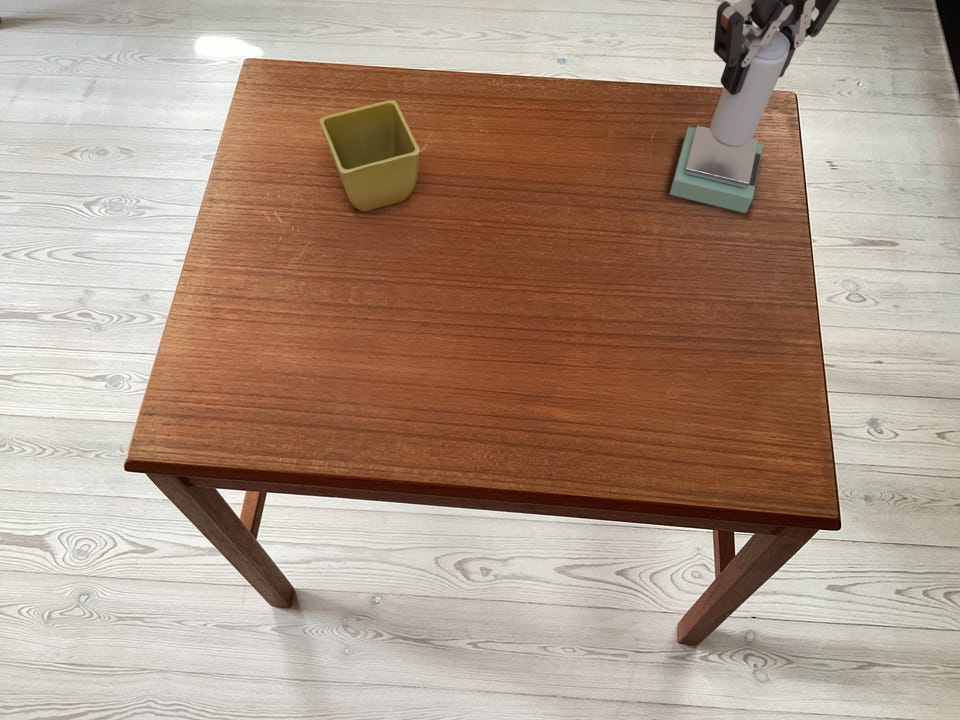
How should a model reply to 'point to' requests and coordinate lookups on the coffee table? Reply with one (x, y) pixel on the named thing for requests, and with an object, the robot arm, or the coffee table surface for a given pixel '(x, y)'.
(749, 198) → the scale
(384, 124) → the flower pot
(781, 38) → the beverage can
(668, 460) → the coffee table surface
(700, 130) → the scale pan
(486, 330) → the coffee table surface
